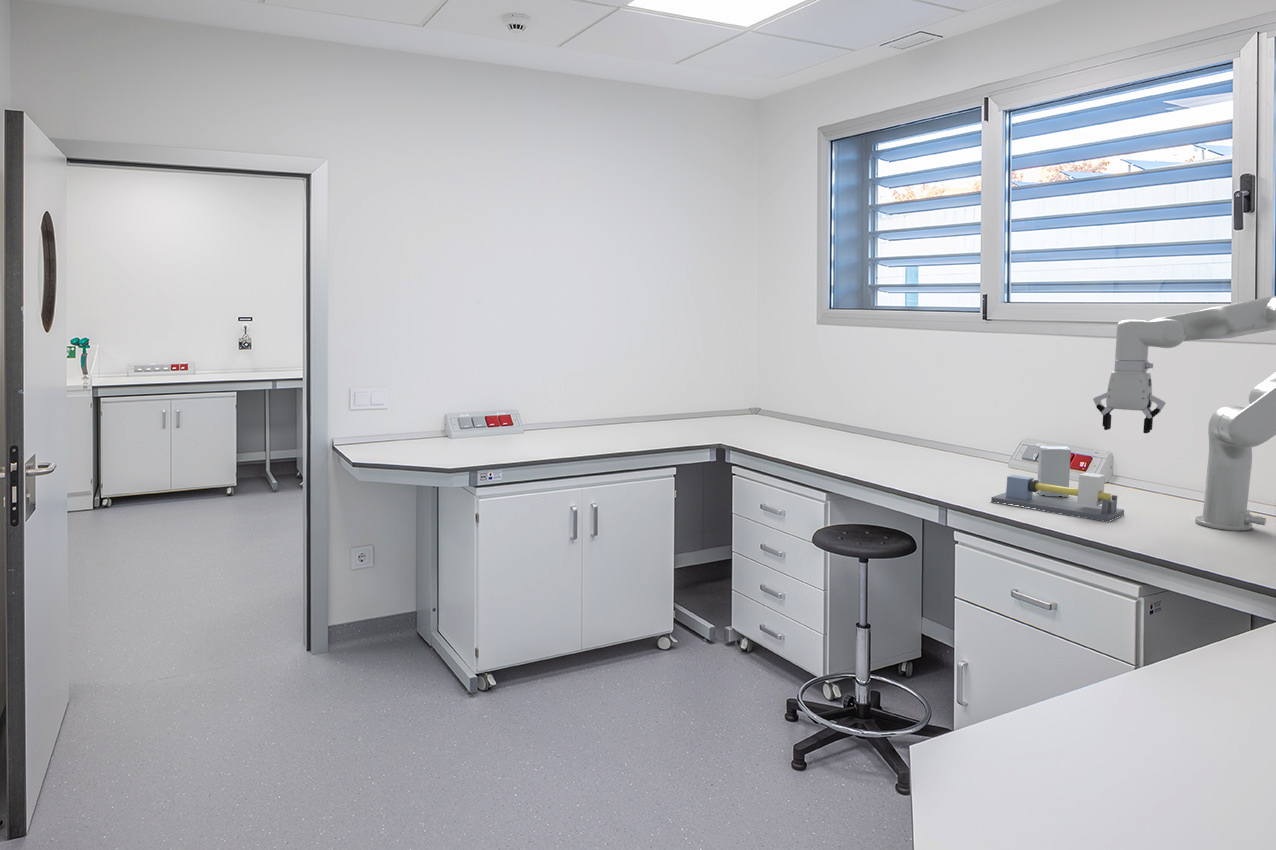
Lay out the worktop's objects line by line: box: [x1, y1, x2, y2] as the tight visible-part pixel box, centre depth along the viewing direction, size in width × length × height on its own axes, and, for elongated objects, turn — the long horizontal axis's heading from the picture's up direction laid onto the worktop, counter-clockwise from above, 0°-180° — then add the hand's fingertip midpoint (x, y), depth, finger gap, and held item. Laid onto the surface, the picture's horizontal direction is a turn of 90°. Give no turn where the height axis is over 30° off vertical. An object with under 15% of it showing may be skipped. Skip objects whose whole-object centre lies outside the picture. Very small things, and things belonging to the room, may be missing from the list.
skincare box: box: [1036, 445, 1072, 498], centre depth 270 cm, size 8×6×15 cm
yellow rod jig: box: [990, 474, 1125, 522], centre depth 252 cm, size 32×12×8 cm, turn 44°
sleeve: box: [1076, 472, 1106, 506], centre depth 245 cm, size 5×5×8 cm
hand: (1126, 431), depth 237 cm, fingers open, 9 cm apart
